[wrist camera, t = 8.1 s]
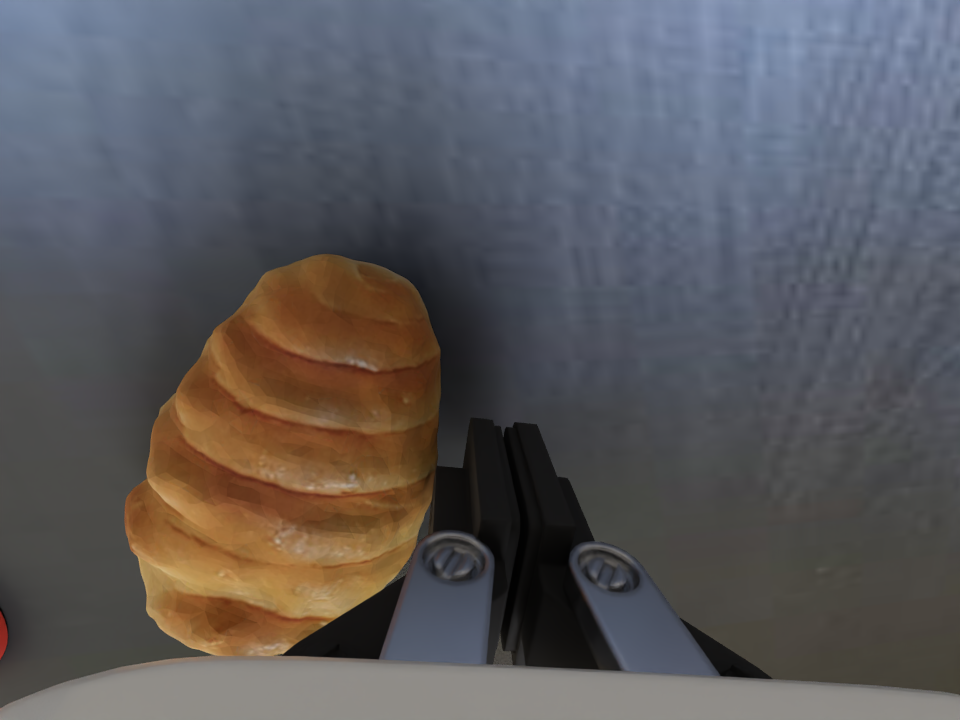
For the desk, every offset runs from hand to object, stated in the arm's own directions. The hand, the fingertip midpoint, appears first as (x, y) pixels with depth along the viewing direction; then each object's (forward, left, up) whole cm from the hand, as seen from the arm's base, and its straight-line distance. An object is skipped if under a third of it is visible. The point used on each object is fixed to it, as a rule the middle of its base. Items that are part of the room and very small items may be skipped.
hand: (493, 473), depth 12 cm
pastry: (+1, -5, -2) cm, 5 cm away
